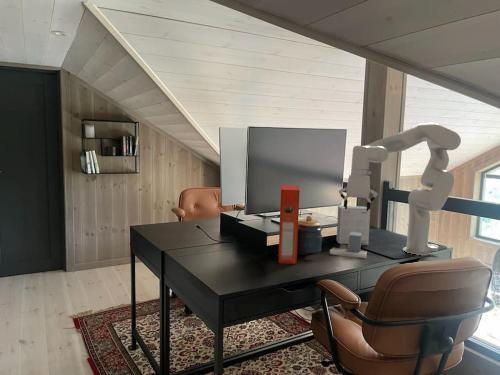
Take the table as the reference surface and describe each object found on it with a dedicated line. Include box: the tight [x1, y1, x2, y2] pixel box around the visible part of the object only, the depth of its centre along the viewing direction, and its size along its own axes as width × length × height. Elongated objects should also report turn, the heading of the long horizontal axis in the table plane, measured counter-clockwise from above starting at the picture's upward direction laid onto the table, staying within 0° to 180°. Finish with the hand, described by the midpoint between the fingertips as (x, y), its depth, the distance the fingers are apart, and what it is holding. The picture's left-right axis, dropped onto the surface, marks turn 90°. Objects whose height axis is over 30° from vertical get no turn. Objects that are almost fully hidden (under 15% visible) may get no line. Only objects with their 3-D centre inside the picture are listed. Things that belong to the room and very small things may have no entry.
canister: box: [297, 215, 323, 256], centre depth 187 cm, size 13×13×18 cm
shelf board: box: [329, 247, 368, 259], centre depth 183 cm, size 16×12×4 cm
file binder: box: [278, 184, 300, 265], centre depth 176 cm, size 8×17×32 cm, turn 176°
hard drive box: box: [336, 205, 372, 246], centre depth 202 cm, size 16×8×20 cm, turn 84°
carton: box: [347, 232, 362, 253], centre depth 184 cm, size 5×7×9 cm
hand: (356, 209), depth 182 cm, fingers open, 9 cm apart
